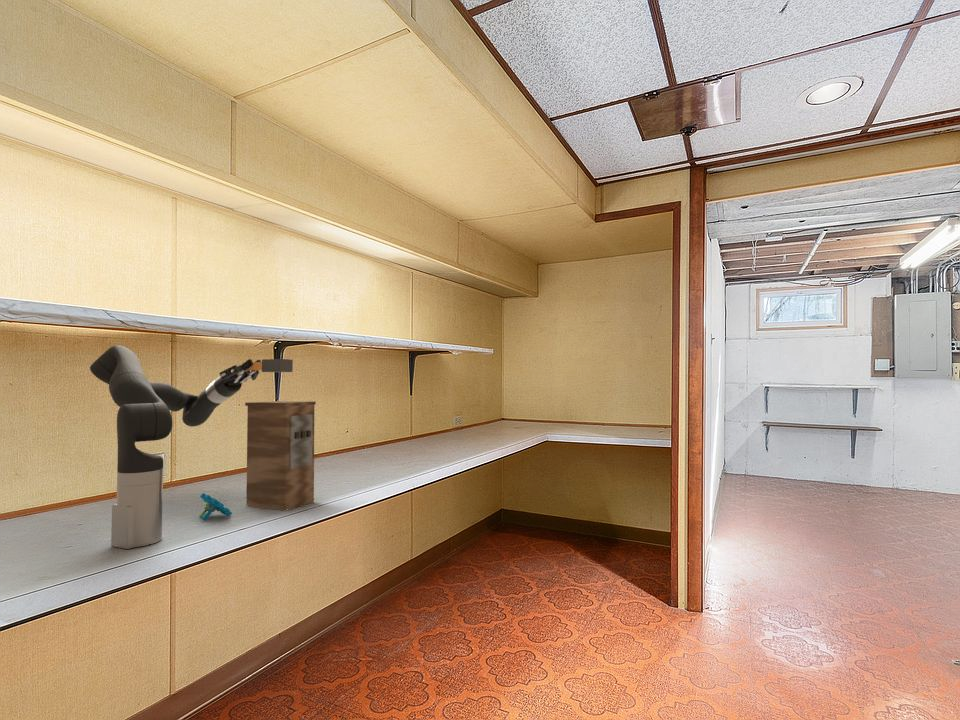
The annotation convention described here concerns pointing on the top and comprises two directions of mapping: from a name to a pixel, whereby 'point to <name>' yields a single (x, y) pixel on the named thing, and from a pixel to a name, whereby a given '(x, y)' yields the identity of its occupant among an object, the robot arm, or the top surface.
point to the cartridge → (273, 365)
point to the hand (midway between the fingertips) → (255, 361)
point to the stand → (280, 454)
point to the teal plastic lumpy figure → (212, 507)
